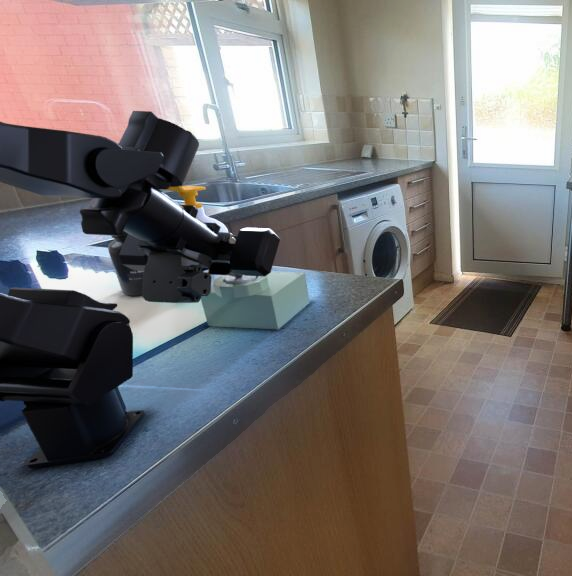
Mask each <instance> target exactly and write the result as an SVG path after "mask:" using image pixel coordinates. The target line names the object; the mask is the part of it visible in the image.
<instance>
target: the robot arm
mask: <svg viewBox="0 0 572 576" xmlns="http://www.w3.org/2000/svg"><path fill="white" fill-rule="evenodd" d="M199 146H200V142H199V140H198V138H197V137H196V135H194V133H192V132H191V130H188V129H187V130H186V129H185V128H183V127H181V126H180V125H178V124H176V123H173V122H171V121H169V120H166V119H163V118H159V116H157V115H156V114H155V113H154V112H153V111H149V110H132V112H131V114H130V115H129V118H128V122H127V126H126V127H125V130H124V132H123V134H122V136H121V138H120V139H119V141H118V143H117V142H116V141H114V140H112V139H110V138H108V137H106V136H102V135H96V134H90V133H83V132H76V131H71V130H63V129H62V130H61V129H53V128H46V127H45V128H44V127H34V126H27V125H25V126H24V125H20V124H14V123H13V124H11V123H7V122H2V121H0V183H2V184H5V185H9V186H11V187H15V188H16V189H17V188H18V189H21V190H25V191H27V192H31V193H33V194H37V195H41V196H43V197H44V196H45V197H61V198H62V197H65V198H81V199H82V198H84V199H85V198H86V199H91V201H90V203H89V205H88V207H86V208H80V209H79V211H78V212H79V214H80V216H81V222H80V227H81V230H82V233H83V234H85V235H90V236H91V235H92V236H93V235H94V236H111V237H112V236H120V235H121V234H122V232H123V231H125V232H127V233H128V236H127V238H126V240H125V242H124V244H123V247H122V249H121V251H120V253H119V257H120V260H121V263H122V265H124V266H127V267H129V268H131V269H133V270H140V271H144V275H143V288H142V295H141V296H142V298H143V299H144V300H145V301H146V302H150V303H165V304H167V303H168V304H195V303H199V302H201V297H202V296H208V295H209V294H210V292H211V279H212V277H211V275H229V276H234V277H242V276H243V275H246V276H264V277H265V276H267V275H268V274H269V273H270V272H271V271H272V269H273V266H274V262H275V260H276V255H277V252H278V250H279V249H278V248H279V245H280V241H281V238H280V237H279V236H278V234H276V232H274V230H272V229H271V228H263V227H261V228H260V227H259V228H258V227H243V228H241V229H239V230H238V233H237V235H234V234H233V233H232V232H230V231H228V232H219V230H220V228H221V227H220V226H219V225H218V224H216V223H206V222H202V221H201V220H200V219H198V218H197V217H196V216H197V213H198V211H199V210H198V209H197V208H196V207H194V206H193V205H180V204H181V203H178V202H177V201H175V200H174V199H173V198H172V197H170V196H168V194H166V193H165V192H164V191H166V190H165V189H168V188H169V187H178V186H184V183H185V181H186V178H187V176H188V173H189V172H190V171H189V170H190V169H191V166H192V164H193V162H194V159H195V157H196V154H197V151H198V150H199V148H200V147H199ZM205 270H209V271H208V273H207V272H203V271H205ZM117 307H118V303H116V302H101V301H99V300H97V299H94V298H93V297H91V296H89V295H87V294H85V293H82V292H80V291H77V290H74V289H72V290H71V289H56V288H55V289H54V288H53V289H52V288H51V289H50V288H34V287H33V288H32V287H13V286H11V287H10V288H9V289H8V293H7V294H4V293H1V292H0V402H5V401H9V402H11V401H12V402H23V405H24V408H23V409H22V410H21V411H20V413H21V415H22V416H23V418H24V420H25V422H26V424H27V425H28V427H29V429H30V431H31V433H32V436H33V437H34V439H35V441H36V442H37V443H36V444H38V446H39V450H37V451H36V452H35V453H34V454H33V455H32V456H31V457H30V458H29V459H28V460H27V461H26V462H25V465H26V466H27V468H28V469H34V468H35V469H36V468H41V467H49V466H56V465H63V464H71V463H76V462H83V461H90V460H91V461H92V460H98V459H105V458H108V457H110V456H112V455H114V453H115V452H116V451H117V450H118V449H119V448H120V446H122V444H123V443H124V441H125V440H126V439H127V438H128V436H129V435H130V434H131V433H132V432H133V431H134V429H135V428H136V427H137V425H138V424H139V423H141V421H142V420H143V419H144V417H145V415H146V413H145V410H144V409H139V410H129V411H127V407H126V404H125V401H124V399H123V397H122V394H121V392H120V389H119V387H120V386H121V385H122V384H124V383H125V382H127V381H128V380H130V379H132V378H133V375H134V333H133V331H132V327H131V326H130V323H131V320H130V318H129V317H128V316H126V314H123V313H122V312H120V311H118V310H115V309H116V308H117Z"/></svg>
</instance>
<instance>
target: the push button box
mask: <svg viewBox="0 0 572 576" xmlns="http://www.w3.org/2000/svg"><path fill="white" fill-rule="evenodd" d="M227 276H228V275H222V276H220V277H218V278H216V279H215V280H214V282H213V285H212V286H211V292H210V294H209V295H208V296H202V297H201V299H200V302H201V305H202V308H203V312H204V315H205V319H206V323H207V326H208V327H219V328H241V329H260V330H261V329H263V330H280V329H281V328H282V327H283V326H284V325H286V324H287V323H288V322H289V321H290V320H291V319H293V318H294V317H295V316H296V315H297V314H298V313H300V312H301V311H302V310H303V309H304V308H305V307H307V306H308V305H309V304H310V303H311V301H310V295H309V289H308V282H307V277H306V272H299V271H298V272H296V271H278V270H271V272H270V273H269V274H268V275H267V276H265V277H264V276H256V277H257V279H255V280H253V281H249V282H246V283H240V284H227V283H226V282H225V277H227Z"/></svg>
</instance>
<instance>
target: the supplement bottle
mask: <svg viewBox="0 0 572 576" xmlns="http://www.w3.org/2000/svg"><path fill="white" fill-rule="evenodd" d="M127 236H128V233H127V232H125V231H123V232H122V234H121V235H120V236H111V238H112V239H114V240H113V241H111V242H110V243H109V244H108V246H107V250H108V254H109V257H110V259H111V263H112V265H113V269H114V272H115V275H116V278H117V282H118V284H119V286H120V289H121V292H122V293H123V294H124V295H127V296H133V297H134V296H142V288H143V275H144V271H140V270H133V269H131V268H129V267H127V266H124V265H122V263H121V260H120V257H119V253H120V251H121V249H122V247H123V244H124V242H125V240H126V238H127Z"/></svg>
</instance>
